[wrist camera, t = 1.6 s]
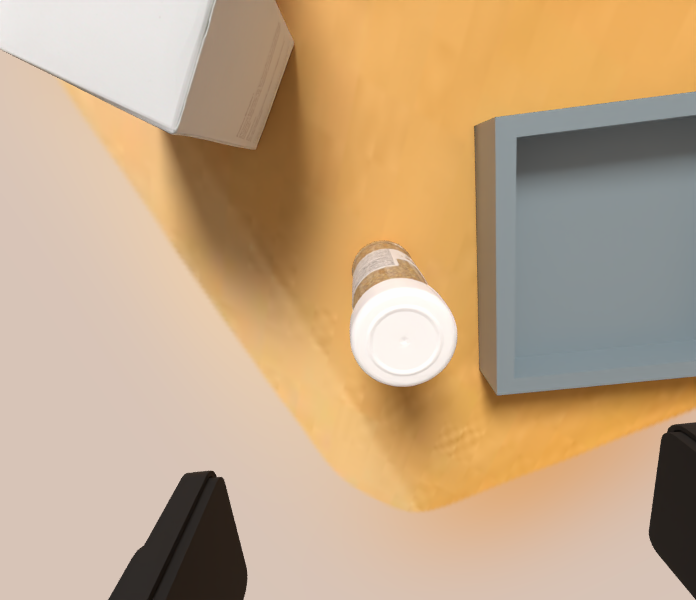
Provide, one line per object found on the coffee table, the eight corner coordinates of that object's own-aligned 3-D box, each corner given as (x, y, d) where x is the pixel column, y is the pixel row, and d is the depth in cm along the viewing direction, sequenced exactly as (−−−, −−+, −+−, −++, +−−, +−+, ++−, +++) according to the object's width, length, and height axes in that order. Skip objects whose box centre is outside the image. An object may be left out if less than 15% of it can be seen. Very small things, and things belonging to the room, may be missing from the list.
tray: (756, 90, 25) (827, 74, 21) (712, 345, 31) (763, 369, 27) (474, 126, 26) (495, 117, 22) (479, 368, 31) (496, 395, 28)
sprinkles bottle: (421, 283, 29) (475, 366, 17) (366, 308, 30) (376, 406, 17) (397, 228, 28) (436, 270, 15) (340, 254, 29) (331, 316, 16)
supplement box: (186, -17, 24) (17, -214, 12) (298, 42, 25) (246, -85, 13) (151, 104, 26) (-24, 41, 14) (255, 155, 27) (176, 138, 15)
